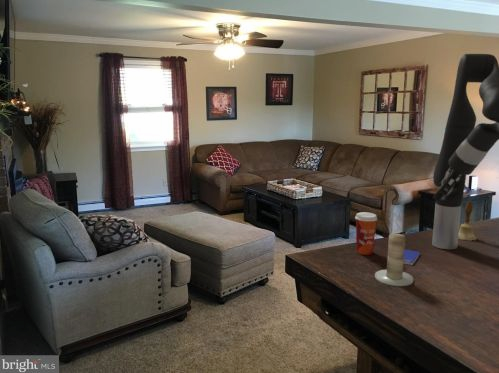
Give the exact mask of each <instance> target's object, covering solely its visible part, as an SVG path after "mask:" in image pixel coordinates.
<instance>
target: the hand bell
mask: <svg viewBox="0 0 499 373" xmlns="http://www.w3.org/2000/svg"><path fill="white" fill-rule="evenodd" d="M472 212H473V203H472V201H471V200H468V201H467V203H466V205H465V209H464V213H465V218H464V219H465V220H464V223H462V224H461V225H459V235H458V240H462V241H469V242H470V241H471V242H473V241H476V240H477V237H476V236H475V235H474V230H473V225H471V224H470V220H471V214H472ZM472 240H473V241H472Z"/></svg>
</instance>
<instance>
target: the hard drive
mask: <svg viewBox="0 0 499 373" xmlns="http://www.w3.org/2000/svg"><path fill="white" fill-rule="evenodd" d="M420 255H421V253H420V251H415V250H409V249H404V262H403V265H409V266H410V265H411V266H413V265H414V264H415V263H416V261H417V259H418V258H419V256H420Z"/></svg>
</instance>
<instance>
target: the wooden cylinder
mask: <svg viewBox="0 0 499 373" xmlns="http://www.w3.org/2000/svg"><path fill="white" fill-rule="evenodd" d="M387 244H388V247H387V259H386V260H387V262H386V270H387V273H386V276H387V277H388V278H389V279H393V280H400V279H402V275H403V272H404V263H403V262H404V249H405V247H406V236H405V235H404V234H402V233H401V234H400V233H391V234H389V235H388V243H387ZM405 250H406V249H405Z"/></svg>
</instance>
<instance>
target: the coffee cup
mask: <svg viewBox="0 0 499 373" xmlns="http://www.w3.org/2000/svg"><path fill="white" fill-rule="evenodd" d="M377 216H378V215H377V214H375V213H372V212H368V211H367V212H366V211H365V212H364V211H363V212H361V211H360V212H358V213H357V212H356V215H355V217H354V218H355V231H356V232H355V235H356V236H355V240H356V241H355V242H356V244H355V245H356V253H357V254H359V255H363V256H365V255H366V256H368V255H372V254H373V251H374V243H375V237H376V236H375V235H376V226H377V221H378V217H377Z"/></svg>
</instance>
